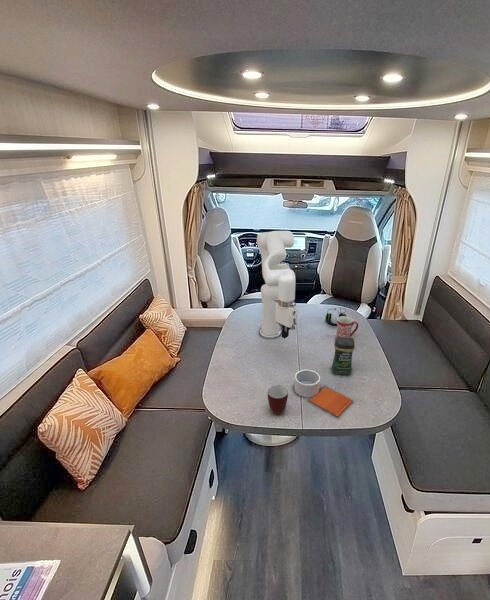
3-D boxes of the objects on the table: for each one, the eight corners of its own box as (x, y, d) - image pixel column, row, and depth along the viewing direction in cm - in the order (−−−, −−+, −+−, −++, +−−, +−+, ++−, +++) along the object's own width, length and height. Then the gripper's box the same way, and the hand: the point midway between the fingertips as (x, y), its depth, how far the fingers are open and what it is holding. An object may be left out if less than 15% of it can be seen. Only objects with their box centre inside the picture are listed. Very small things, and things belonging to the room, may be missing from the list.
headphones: (346, 302, 210) (354, 315, 192) (345, 315, 214) (353, 329, 195) (323, 302, 208) (329, 316, 190) (322, 315, 212) (328, 329, 194)
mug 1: (266, 400, 134) (267, 381, 130) (285, 399, 135) (286, 381, 131) (268, 419, 124) (268, 399, 120) (288, 417, 125) (289, 398, 121)
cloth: (309, 400, 135) (309, 399, 134) (325, 387, 143) (325, 386, 143) (337, 416, 126) (337, 415, 126) (352, 401, 135) (352, 400, 135)
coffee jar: (332, 375, 152) (335, 342, 144) (331, 365, 159) (334, 333, 152) (352, 376, 151) (356, 343, 144) (350, 366, 158) (354, 335, 151)
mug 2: (336, 344, 178) (339, 323, 173) (333, 336, 187) (335, 316, 181) (358, 344, 179) (361, 323, 174) (354, 336, 188) (356, 316, 182)
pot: (289, 389, 141) (289, 377, 138) (304, 378, 149) (305, 366, 146) (309, 400, 134) (310, 388, 132) (323, 388, 142) (325, 376, 140)
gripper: (304, 304, 138) (302, 339, 146) (279, 294, 147) (278, 328, 155) (293, 309, 133) (292, 346, 141) (268, 299, 142) (268, 334, 150)
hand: (285, 336), depth 148 cm, fingers closed
